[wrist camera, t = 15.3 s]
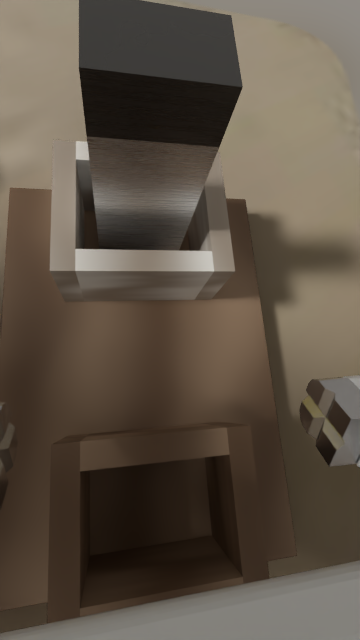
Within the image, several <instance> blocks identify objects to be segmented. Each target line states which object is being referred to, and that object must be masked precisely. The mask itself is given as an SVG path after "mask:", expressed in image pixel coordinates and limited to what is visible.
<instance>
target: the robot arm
mask: <svg viewBox="0 0 360 640" xmlns="http://www.w3.org/2000/svg"><path fill="white" fill-rule="evenodd" d="M306 391H307V393H308V395H309V396H307V397H306V398H305V399H304V400H303V401H302V403H301V407H300V419H301V422H302V425H303V427H304V429H305V430H306V432H307V433H308V434H309V435H311V436H312V437H314V438H315V439H317V440H316V447H317V449H318V450H319V452H320V453H321V455H322V456H323V458H324V459H325V461H326V462H327V464H328V465H329V466H339V465H349V464H357V466H358V467H360V375H357V376H346V377H336V378H324V379H312V380H311V381H310V382H309V383H308V386H307V389H306ZM11 415H12V412H11V409H10V405H9V404H8V403H6V402H1V403H0V511H1V508H2V504H3V501H4V497H5V494H6V490H7V487H8V484H9V482H8V479H7V475H6V473H7V472H8V471H9V470H10V469H11V468H12V467H13V466H14V462H15V458H16V454H17V444H18V441H17V432H16V427H15V426H14V425H12V424H11V423H9V421H10V418H11ZM0 640H360V560H359V561H354V562H349V563H344V564H339V565H334V566H329V567H324V568H319V569H314V570H310V571H305V572H300V573H295V574H290V575H285V576H280V577H275V578H270V579H265V580H260V581H255V582H250V583H245V584H240V585H235V586H230V587H225V588H220V589H216V590H211V591H206V592H201V593H196V594H191V595H186V596H181V597H176V598H171V599H166V600H161V601H156V602H151V603H146V604H141V605H136V606H131V607H127V608H122V609H117V610H112V611H107V612H102V613H97V614H92V615H87V616H82V617H77V618H72V619H67V620H62V621H58V622H53V623H48V624H43V625H38V626H33V627H28V628H23V629H18V630H13V631H8V632H3V633H0Z"/></svg>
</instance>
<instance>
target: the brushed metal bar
mask: <svg viewBox="0 0 360 640" xmlns="http://www.w3.org/2000/svg"><path fill="white" fill-rule="evenodd" d="M79 72H80V80H81V89H82V98H83V107H84V116H85V125H86V134H87V143H88V152H89V161H90V170H91V179H92V188H93V196H94V205H95V214H96V223H97V232H98V241H99V249H112V250H173V251H179V249H180V247H181V244H182V242H183V239H184V236H185V234H186V231H187V229H188V226H189V224H190V221H191V218H192V216H193V213H194V211H195V208H196V206H197V203H198V200H199V198H200V195H201V193H202V190H203V188H204V185H205V182H206V180H207V177H208V175H209V172H210V170H211V167H212V164H213V162H214V159H215V157H216V154H217V152H218V149H219V146H220V144H221V141H222V139H223V136H224V134H225V131H226V128H227V126H228V123H229V121H230V118H231V116H232V113H233V110H234V108H235V105H236V103H237V100H238V98H239V95H240V92H241V90H242V80H241V74H240V68H239V62H238V55H237V49H236V43H235V37H234V30H233V24H232V18H231V15H225V14H219V13H213V12H207V11H201V10H195V9H189V8H183V7H177V6H171V5H165V4H159V3H153V2H147V1H141V0H79Z"/></svg>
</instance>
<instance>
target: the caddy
mask: <svg viewBox="0 0 360 640" xmlns="http://www.w3.org/2000/svg"><path fill="white" fill-rule="evenodd" d="M1 402H6V403H8V404H9V405H10V409H11V412H12V415H11V418H10V421H9V423H11V424H12V425H14V426H15V427H16V432H17V441H18V444H17V454H16V458H15V462H14V466H13V467H12V468H11V469H10V470H9V471H8V472H7V473H6V475H7V479H8V482H9V484H8V487H7V490H6V494H5V497H4V501H3V504H2V508H1V511H0V611H3V610H9V609H14V608H19V607H25V606H30V605H35V604H41V603H46V602H47V624H48V623H53V622H58V621H62V620H67V619H72V618H77V617H82V616H87V615H92V614H97V613H102V612H107V611H112V610H117V609H122V608H127V607H131V606H136V605H141V604H146V603H151V602H156V601H161V600H166V599H171V598H176V597H181V596H186V595H191V594H196V593H201V592H206V591H211V590H216V589H220V588H225V587H230V586H235V585H240V584H245V583H250V582H255V581H260V580H265V579H269V571H268V563H267V561H271V560H276V559H282V558H287V557H292V556H297V550H296V544H295V537H294V530H293V523H292V516H291V509H290V502H289V496H288V489H287V482H286V475H285V468H284V461H283V454H282V447H281V441H280V434H279V427H278V420H277V413H276V406H275V399H274V393H273V386H272V379H271V372H270V365H269V358H268V351H267V345H266V338H265V331H264V324H263V317H262V310H261V303H260V297H259V290H258V283H257V276H256V269H255V262H254V255H253V249H252V242H251V235H250V228H249V221H248V214H247V207H246V200H245V199H226V196H225V188H224V180H223V173H222V165H221V157H220V153H219V152H217V154H216V157H215V159H214V162H213V164H212V167H211V170H210V172H209V175H208V177H207V180H206V182H205V185H204V188H203V190H202V193H201V195H200V198H199V200H198V203H197V206H196V208H195V211H194V213H193V216H192V218H191V221H190V224H189V226H188V229H187V231H186V234H185V236H184V239H183V242H182V244H181V247H180V249H179V251H173V250H112V249H99V241H98V232H97V223H96V214H95V205H94V196H93V188H92V179H91V170H90V161H89V152H88V143H87V142H80V141H67V140H54V139H53V164H52V190H46V189H26V188H10V195H9V211H8V227H7V242H6V258H5V273H4V289H3V304H2V320H1V336H0V403H1Z"/></svg>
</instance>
